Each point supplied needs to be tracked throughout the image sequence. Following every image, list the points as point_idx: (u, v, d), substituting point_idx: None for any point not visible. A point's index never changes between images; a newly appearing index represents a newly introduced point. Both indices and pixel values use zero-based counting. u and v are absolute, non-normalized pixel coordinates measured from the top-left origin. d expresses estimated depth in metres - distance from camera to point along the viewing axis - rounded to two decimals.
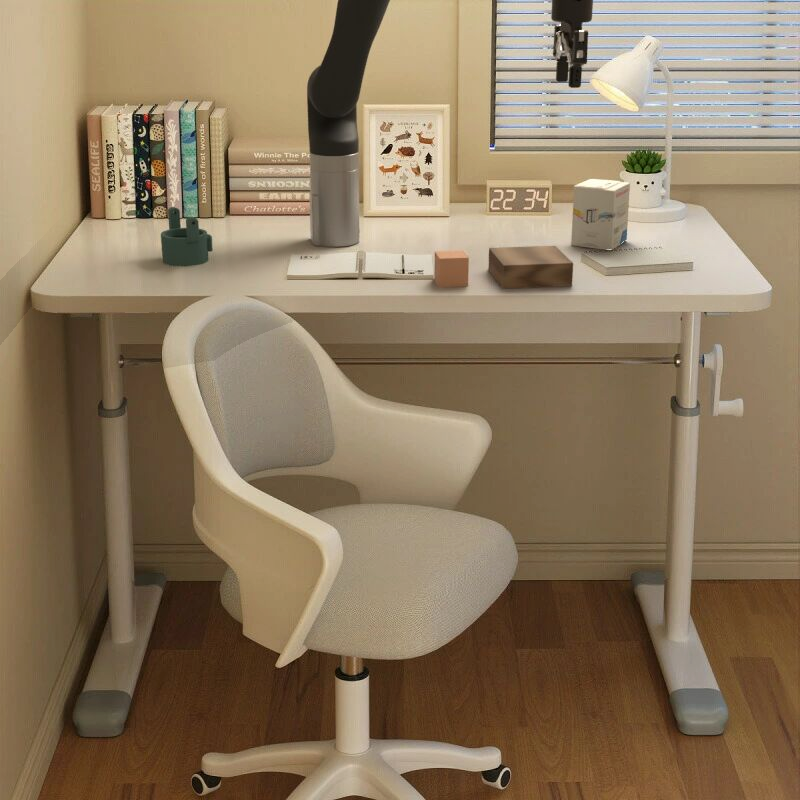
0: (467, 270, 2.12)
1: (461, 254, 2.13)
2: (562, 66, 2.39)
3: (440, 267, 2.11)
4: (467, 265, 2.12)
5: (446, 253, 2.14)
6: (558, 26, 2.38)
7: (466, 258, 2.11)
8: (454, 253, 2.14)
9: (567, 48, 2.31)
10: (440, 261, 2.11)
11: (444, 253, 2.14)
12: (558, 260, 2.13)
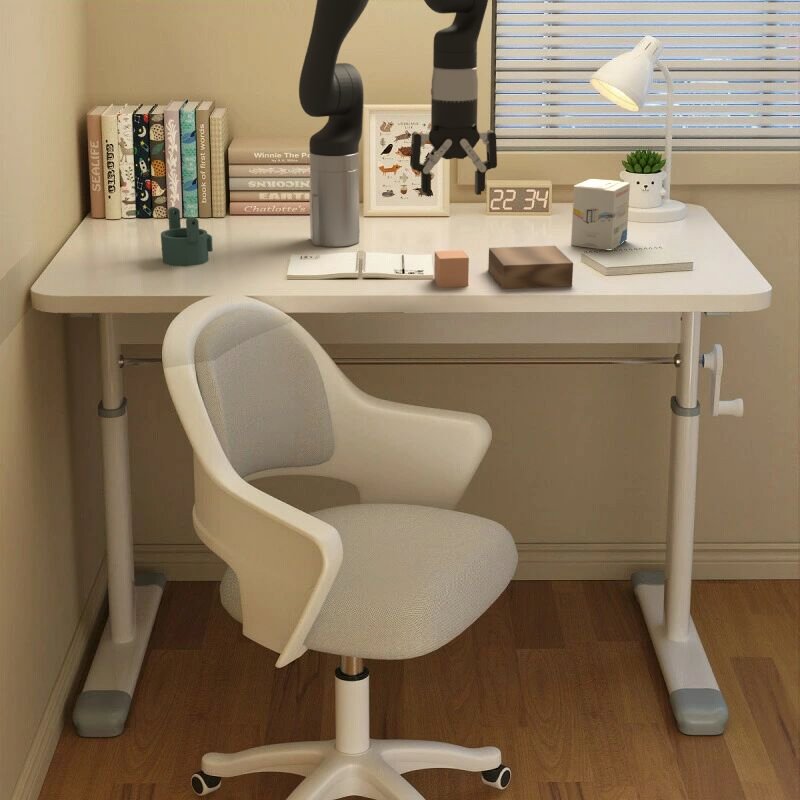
0: (467, 270, 2.12)
1: (461, 254, 2.13)
2: None
3: (440, 267, 2.11)
4: (467, 265, 2.12)
5: (446, 253, 2.14)
6: (420, 135, 2.04)
7: (466, 258, 2.11)
8: (454, 253, 2.14)
9: (476, 154, 2.06)
10: (440, 261, 2.11)
11: (444, 253, 2.14)
12: (558, 260, 2.13)
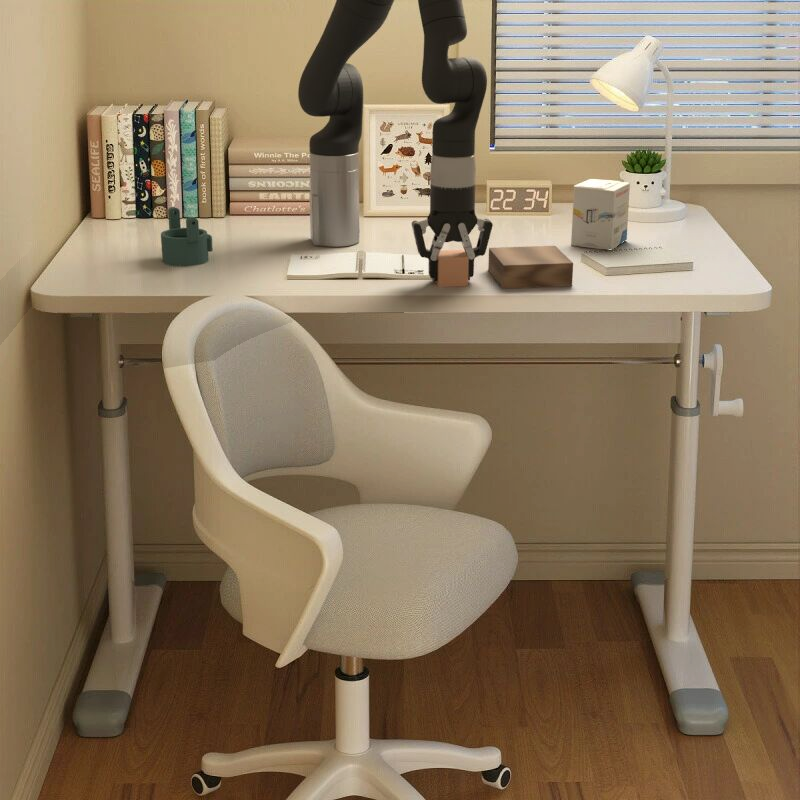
0: (467, 269, 2.12)
1: (461, 253, 2.13)
2: None
3: (440, 266, 2.11)
4: (467, 264, 2.12)
5: (446, 252, 2.14)
6: (419, 224, 2.10)
7: (466, 257, 2.11)
8: (454, 252, 2.14)
9: (469, 240, 2.11)
10: (440, 260, 2.11)
11: (444, 252, 2.14)
12: (558, 260, 2.13)
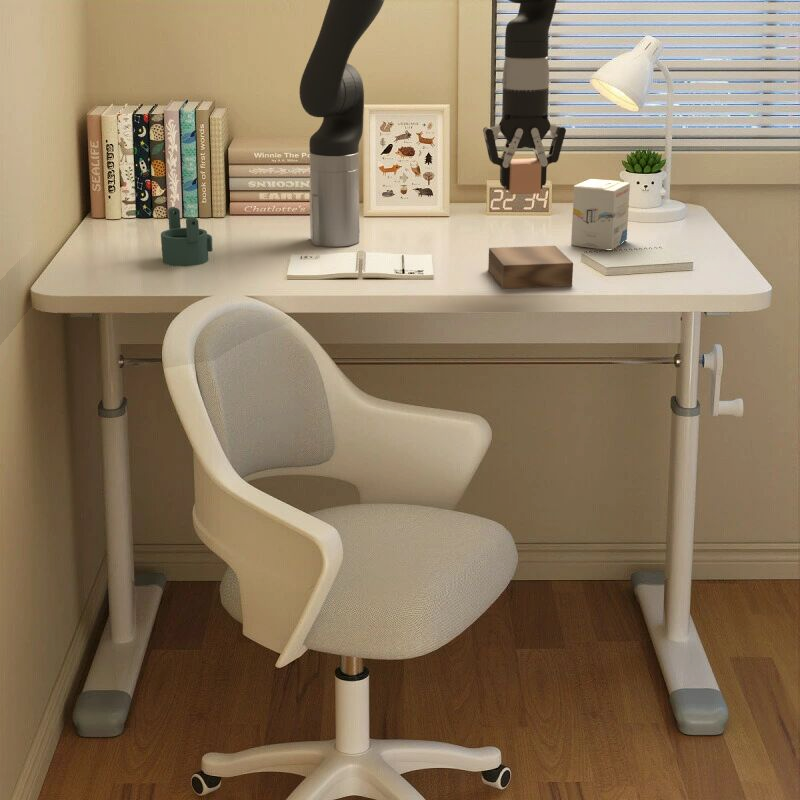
0: (539, 176, 2.08)
1: (533, 161, 2.09)
2: None
3: (512, 173, 2.07)
4: (540, 171, 2.08)
5: (518, 160, 2.10)
6: (491, 129, 2.06)
7: (539, 164, 2.07)
8: (526, 160, 2.10)
9: (542, 146, 2.07)
10: (512, 167, 2.07)
11: (516, 160, 2.10)
12: (558, 260, 2.13)
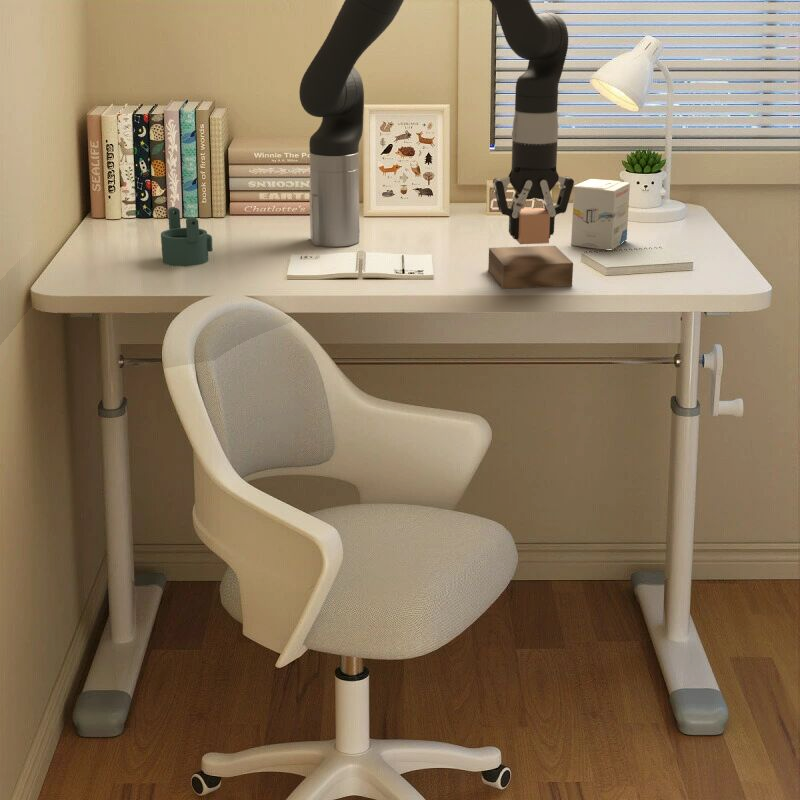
0: (548, 227, 2.12)
1: (542, 211, 2.13)
2: None
3: (521, 224, 2.11)
4: (548, 222, 2.12)
5: (526, 210, 2.14)
6: (501, 181, 2.10)
7: (547, 215, 2.11)
8: (534, 210, 2.14)
9: (551, 197, 2.11)
10: (522, 218, 2.11)
11: (524, 210, 2.14)
12: (558, 260, 2.13)
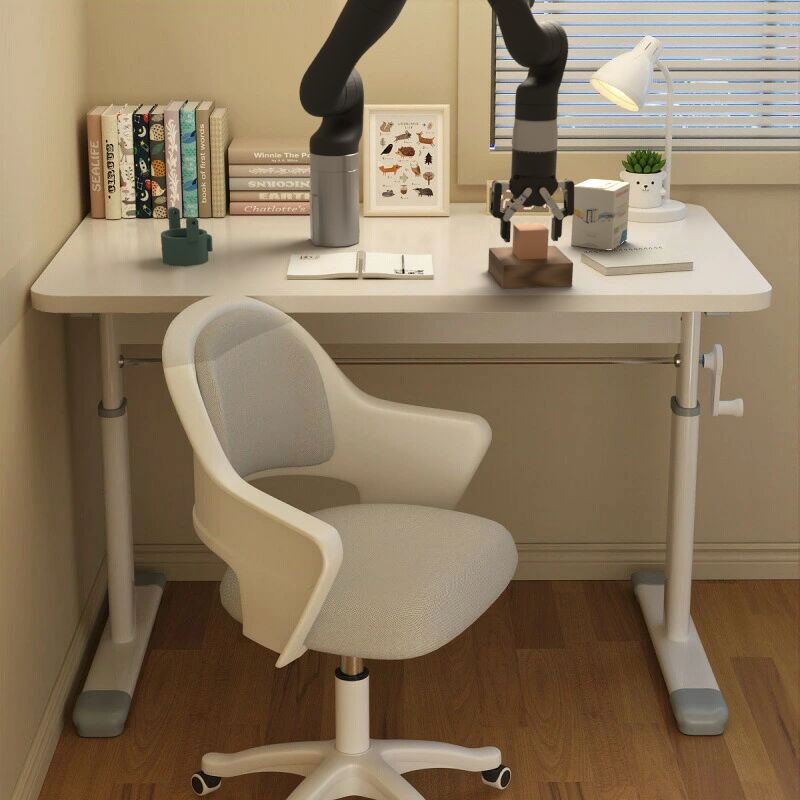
0: (547, 242, 2.13)
1: (540, 226, 2.14)
2: None
3: (520, 239, 2.12)
4: (547, 237, 2.13)
5: (525, 225, 2.15)
6: None
7: (546, 230, 2.12)
8: (533, 225, 2.15)
9: (554, 202, 2.12)
10: (520, 233, 2.12)
11: (523, 225, 2.15)
12: (558, 260, 2.13)
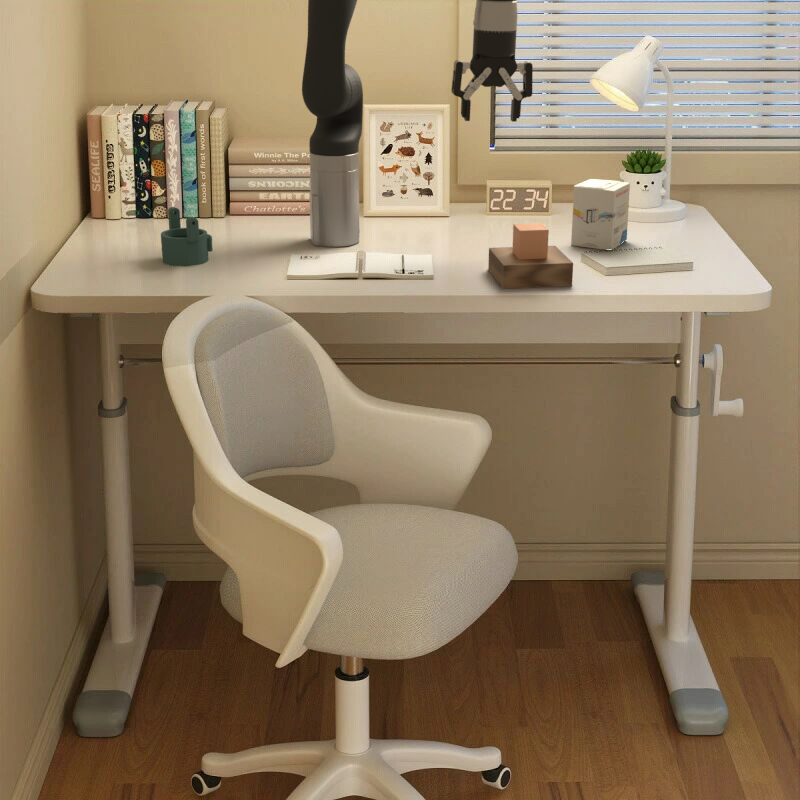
0: (547, 242, 2.13)
1: (540, 226, 2.14)
2: None
3: (520, 239, 2.12)
4: (547, 237, 2.13)
5: (525, 225, 2.15)
6: None
7: (546, 230, 2.12)
8: (533, 225, 2.15)
9: (513, 82, 2.22)
10: (520, 233, 2.12)
11: (523, 225, 2.15)
12: (558, 260, 2.13)
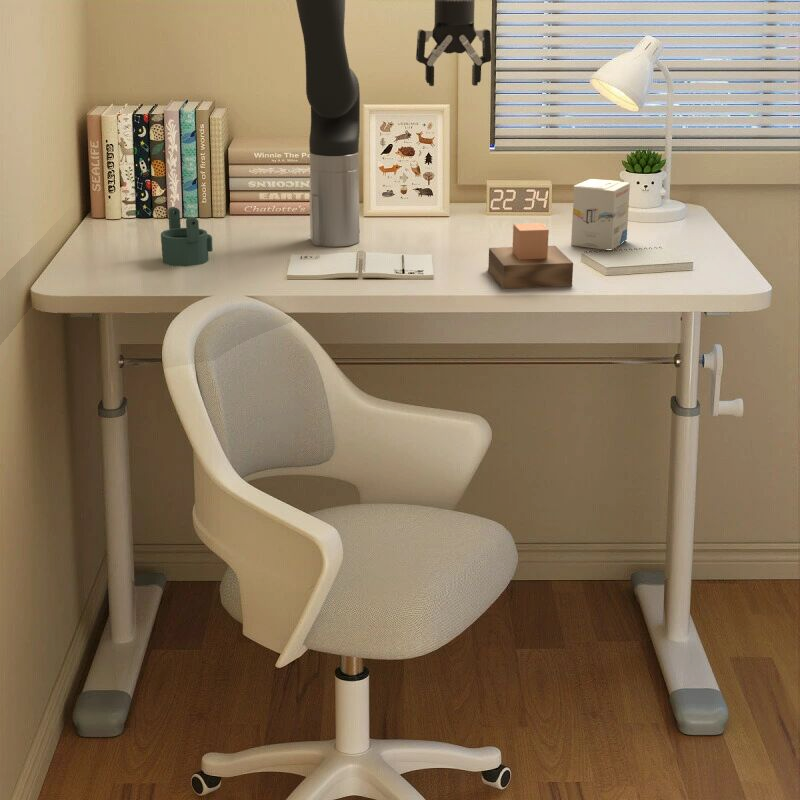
0: (547, 242, 2.13)
1: (540, 226, 2.14)
2: None
3: (520, 239, 2.12)
4: (547, 237, 2.13)
5: (525, 225, 2.15)
6: None
7: (546, 230, 2.12)
8: (533, 225, 2.15)
9: (473, 48, 2.38)
10: (520, 233, 2.12)
11: (523, 225, 2.15)
12: (558, 260, 2.13)
